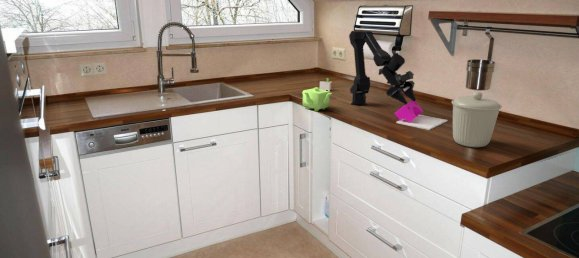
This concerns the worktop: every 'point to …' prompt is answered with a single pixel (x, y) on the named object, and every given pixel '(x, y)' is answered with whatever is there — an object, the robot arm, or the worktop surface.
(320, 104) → the kettle
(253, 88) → the worktop surface
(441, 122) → the mat
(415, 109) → the toy block
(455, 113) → the canister
